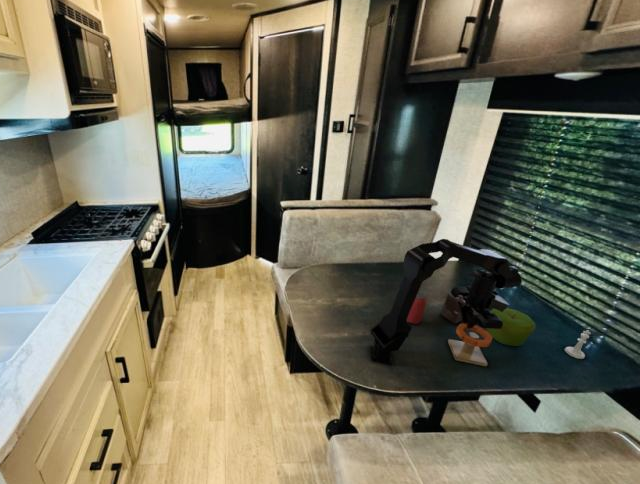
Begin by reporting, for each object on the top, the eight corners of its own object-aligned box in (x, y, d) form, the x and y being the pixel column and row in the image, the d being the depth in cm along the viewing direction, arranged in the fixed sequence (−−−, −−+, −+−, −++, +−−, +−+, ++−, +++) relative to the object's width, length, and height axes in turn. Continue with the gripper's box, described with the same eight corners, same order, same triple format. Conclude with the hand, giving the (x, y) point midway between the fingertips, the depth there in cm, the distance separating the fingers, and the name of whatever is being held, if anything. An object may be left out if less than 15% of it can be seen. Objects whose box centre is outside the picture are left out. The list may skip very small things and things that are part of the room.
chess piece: (586, 361, 103) (601, 338, 99) (566, 355, 106) (580, 332, 101) (582, 351, 107) (595, 328, 103) (562, 345, 109) (575, 323, 105)
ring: (496, 347, 99) (498, 344, 98) (466, 345, 100) (467, 342, 99) (479, 327, 107) (480, 324, 107) (451, 326, 108) (452, 322, 107)
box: (440, 315, 125) (448, 290, 120) (447, 312, 126) (456, 287, 121) (454, 324, 120) (463, 299, 115) (462, 321, 121) (471, 296, 116)
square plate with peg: (486, 366, 102) (495, 347, 98) (455, 360, 104) (462, 341, 101) (477, 346, 109) (484, 328, 106) (447, 341, 112) (454, 323, 108)
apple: (512, 329, 117) (523, 304, 113) (534, 353, 106) (548, 327, 102) (475, 325, 119) (485, 301, 115) (493, 349, 108) (505, 323, 104)
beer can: (418, 326, 119) (426, 301, 114) (400, 319, 122) (406, 294, 117) (421, 317, 124) (429, 292, 118) (403, 311, 127) (410, 286, 122)
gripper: (530, 308, 91) (511, 348, 97) (490, 274, 108) (476, 310, 114) (490, 306, 92) (473, 346, 98) (456, 272, 109) (444, 308, 115)
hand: (467, 326), depth 107 cm, fingers closed on ring, 1 cm apart
